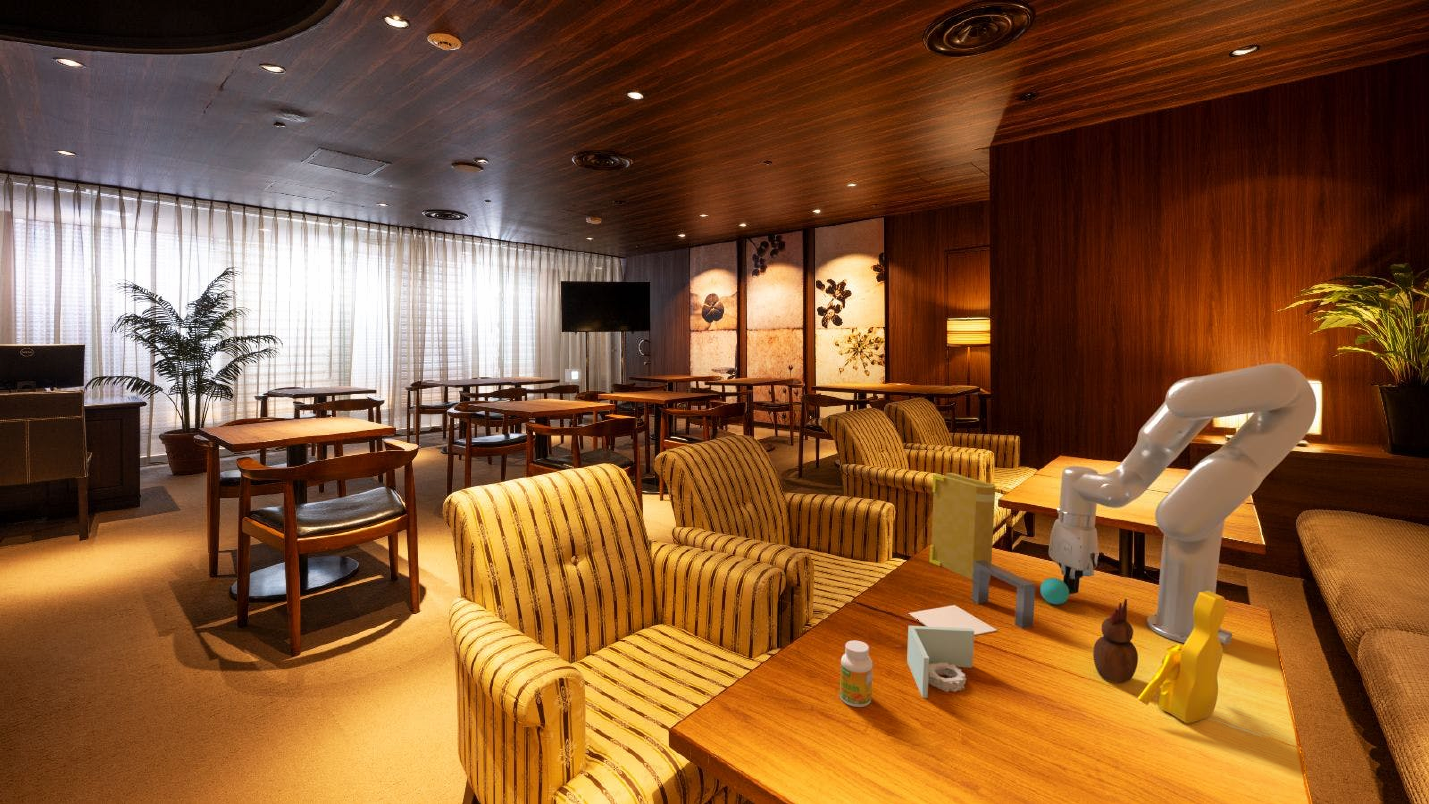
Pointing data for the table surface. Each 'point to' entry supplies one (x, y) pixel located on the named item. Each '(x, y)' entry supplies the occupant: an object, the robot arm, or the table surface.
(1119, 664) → the wooden figurine
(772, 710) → the table surface
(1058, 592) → the ball
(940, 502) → the book
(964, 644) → the l-shaped corner panel
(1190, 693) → the figure statuette
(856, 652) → the supplement bottle
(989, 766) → the table surface
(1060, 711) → the table surface
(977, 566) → the bridge
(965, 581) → the table surface
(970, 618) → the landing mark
